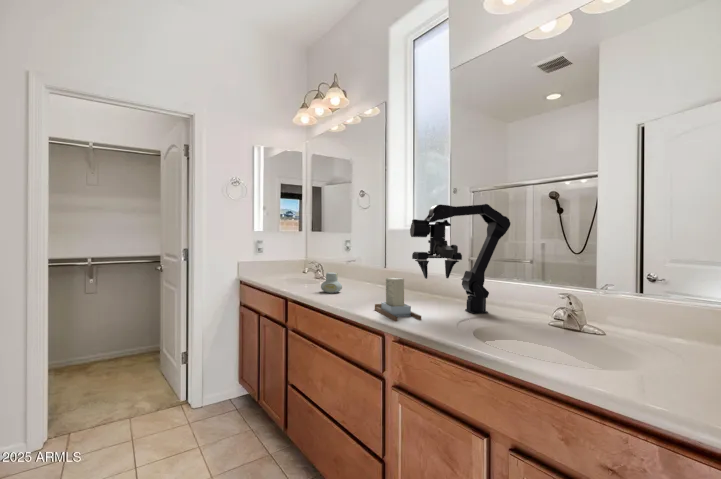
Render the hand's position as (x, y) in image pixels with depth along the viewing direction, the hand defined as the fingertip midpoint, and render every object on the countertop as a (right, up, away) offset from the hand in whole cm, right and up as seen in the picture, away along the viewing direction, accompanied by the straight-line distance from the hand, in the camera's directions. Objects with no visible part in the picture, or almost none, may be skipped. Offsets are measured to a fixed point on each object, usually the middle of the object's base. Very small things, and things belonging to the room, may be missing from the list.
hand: (436, 278), depth 135 cm
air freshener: (-44, -13, +46) cm, 65 cm away
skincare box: (-17, -12, -6) cm, 21 cm away
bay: (-16, -13, -6) cm, 21 cm away
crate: (-16, -13, -5) cm, 21 cm away
